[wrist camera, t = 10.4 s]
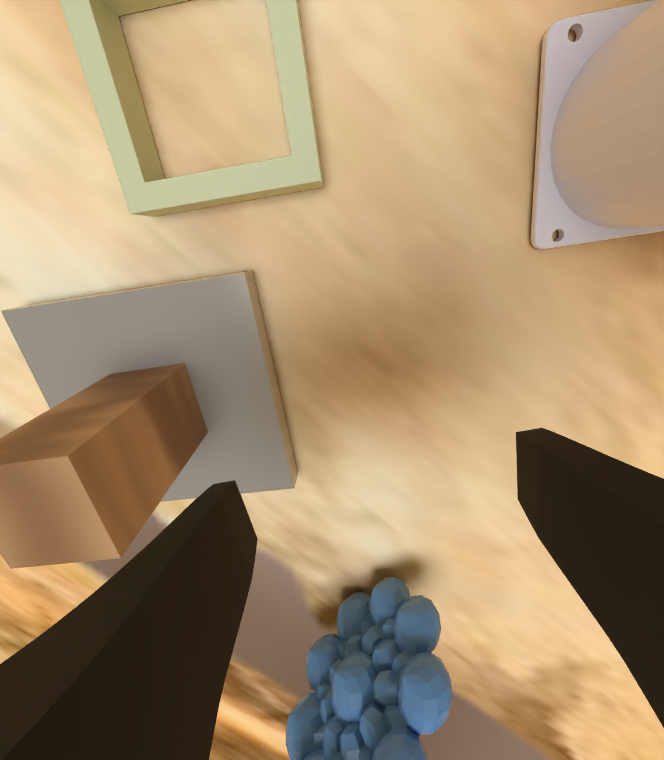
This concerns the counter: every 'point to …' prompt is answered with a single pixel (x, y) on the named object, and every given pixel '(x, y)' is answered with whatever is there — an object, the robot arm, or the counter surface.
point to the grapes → (373, 681)
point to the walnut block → (96, 467)
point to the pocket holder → (133, 133)
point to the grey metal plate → (169, 347)
